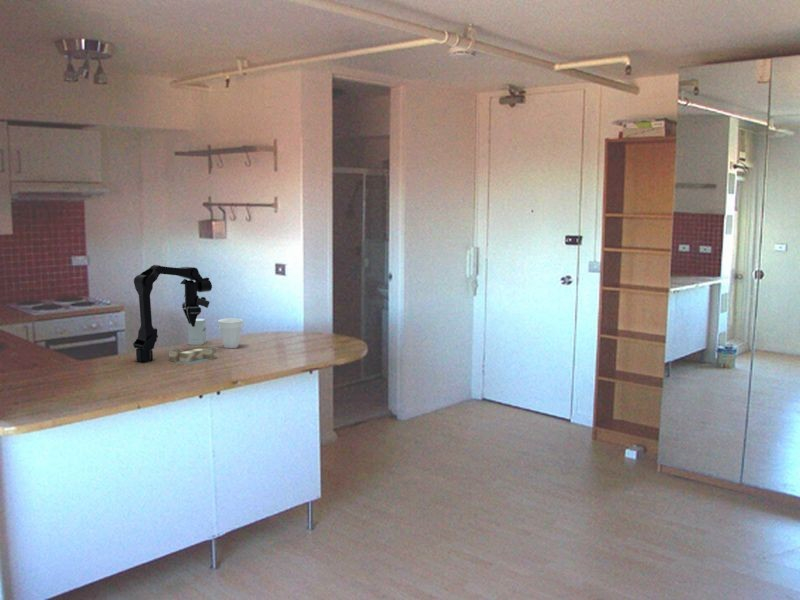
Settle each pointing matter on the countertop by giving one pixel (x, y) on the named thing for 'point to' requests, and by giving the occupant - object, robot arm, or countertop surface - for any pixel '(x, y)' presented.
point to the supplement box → (197, 332)
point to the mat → (194, 361)
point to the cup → (230, 331)
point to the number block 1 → (174, 355)
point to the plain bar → (191, 355)
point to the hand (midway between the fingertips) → (191, 325)
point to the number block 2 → (210, 353)
